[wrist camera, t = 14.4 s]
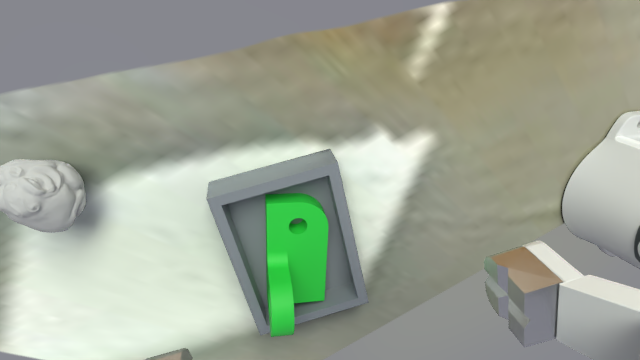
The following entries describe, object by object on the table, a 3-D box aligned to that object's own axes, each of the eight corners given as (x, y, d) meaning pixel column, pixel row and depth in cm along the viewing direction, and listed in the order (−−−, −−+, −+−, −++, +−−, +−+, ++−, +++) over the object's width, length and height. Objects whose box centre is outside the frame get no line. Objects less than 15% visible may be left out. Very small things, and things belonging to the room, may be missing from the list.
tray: (329, 148, 41) (337, 162, 38) (359, 281, 48) (368, 302, 45) (208, 182, 40) (206, 199, 37) (258, 312, 48) (260, 335, 44)
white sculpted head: (68, 126, 36) (32, 157, 29) (113, 194, 39) (89, 234, 33) (1, 153, 36) (-50, 189, 29) (51, 218, 39) (16, 263, 32)
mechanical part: (320, 288, 47) (336, 343, 40) (266, 293, 46) (272, 350, 38) (325, 191, 42) (344, 234, 35) (265, 194, 41) (271, 238, 34)
